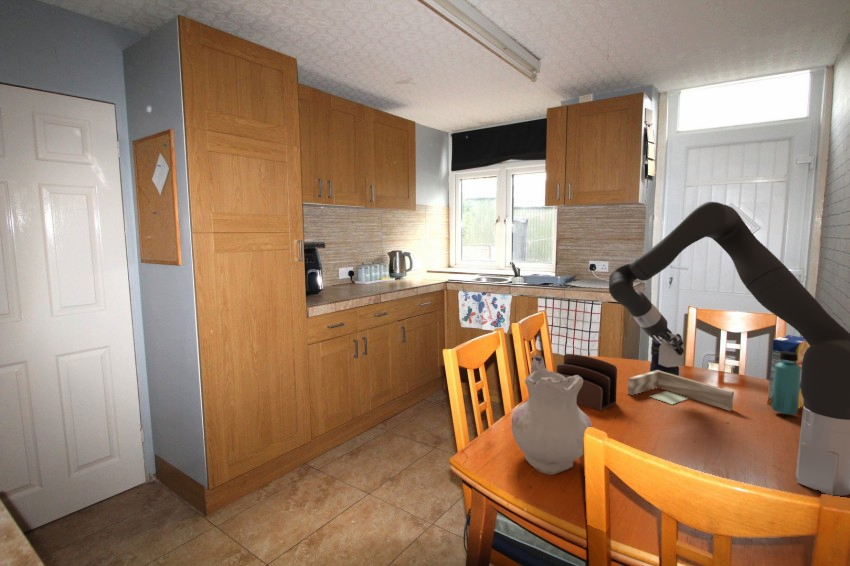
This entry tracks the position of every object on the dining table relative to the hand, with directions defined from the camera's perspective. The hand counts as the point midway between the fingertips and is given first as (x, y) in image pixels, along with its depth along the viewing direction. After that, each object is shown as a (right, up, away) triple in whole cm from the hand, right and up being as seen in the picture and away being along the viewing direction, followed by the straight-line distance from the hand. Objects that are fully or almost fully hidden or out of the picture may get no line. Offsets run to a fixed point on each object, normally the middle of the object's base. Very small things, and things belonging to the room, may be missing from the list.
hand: (676, 351), depth 147 cm
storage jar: (+7, -14, +20) cm, 26 cm away
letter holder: (-32, -17, +1) cm, 36 cm away
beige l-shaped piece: (-1, -17, -2) cm, 17 cm away
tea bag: (-2, -5, 0) cm, 5 cm away
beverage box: (+34, -17, -4) cm, 38 cm away
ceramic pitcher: (-54, -21, -37) cm, 69 cm away
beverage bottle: (+26, -18, -12) cm, 34 cm away
